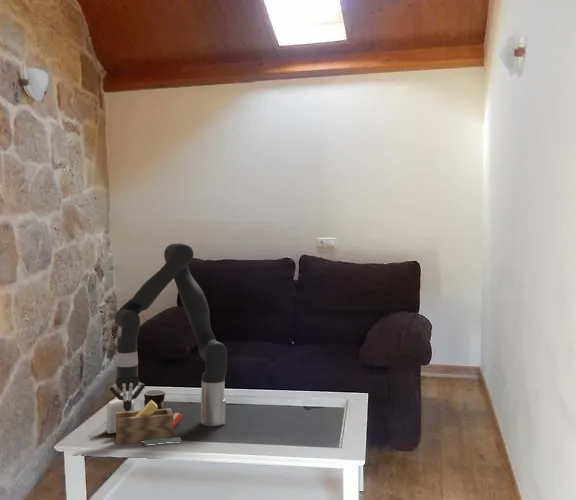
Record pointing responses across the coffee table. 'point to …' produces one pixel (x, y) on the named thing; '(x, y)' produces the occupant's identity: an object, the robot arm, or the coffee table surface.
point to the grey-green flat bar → (162, 440)
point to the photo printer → (114, 413)
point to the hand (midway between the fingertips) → (127, 410)
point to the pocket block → (143, 426)
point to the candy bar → (176, 419)
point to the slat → (148, 409)
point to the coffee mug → (155, 397)
